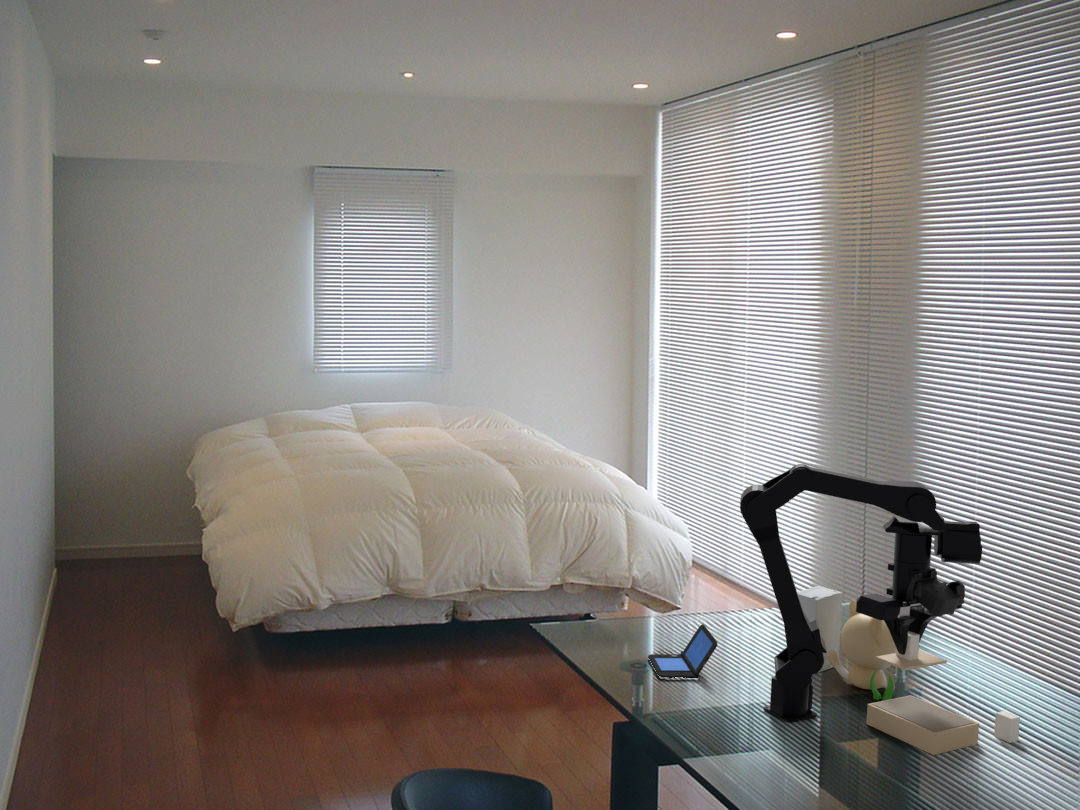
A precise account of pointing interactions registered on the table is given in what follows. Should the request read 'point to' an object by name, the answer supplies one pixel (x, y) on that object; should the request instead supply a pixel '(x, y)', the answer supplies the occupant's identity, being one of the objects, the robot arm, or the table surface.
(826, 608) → the skincare box
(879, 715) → the carton
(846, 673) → the kitten
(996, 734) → the white block
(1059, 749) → the table surface
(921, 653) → the flap far
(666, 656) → the handheld game console
